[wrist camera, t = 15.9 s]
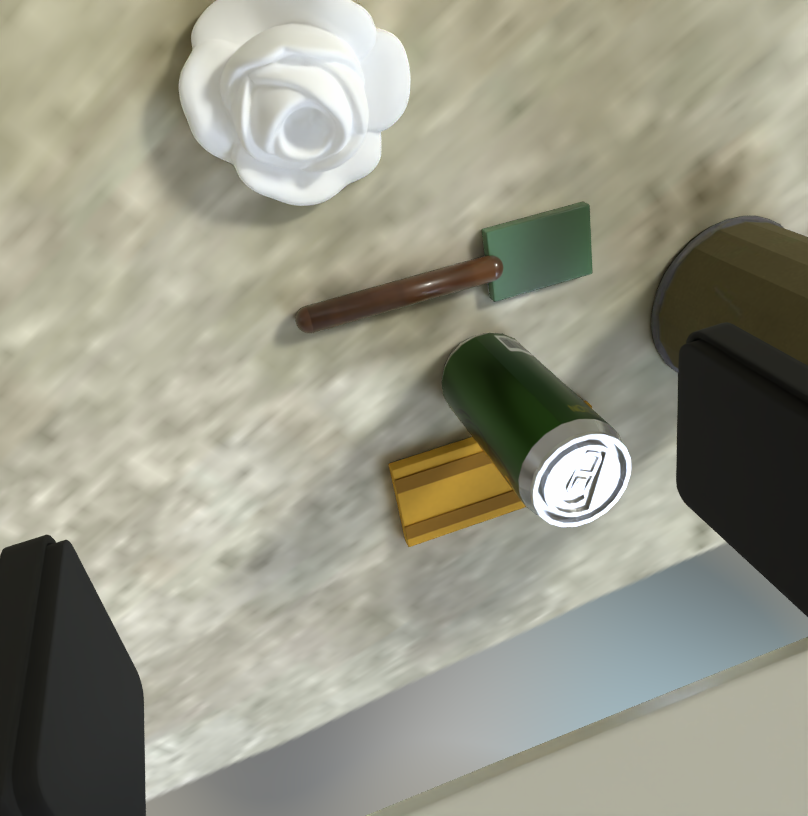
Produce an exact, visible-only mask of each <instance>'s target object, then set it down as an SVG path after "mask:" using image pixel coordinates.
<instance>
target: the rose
mask: <svg viewBox="0 0 808 816" xmlns="http://www.w3.org/2000/svg"><path fill="white" fill-rule="evenodd" d="M191 43H192V48H193V50H192V52H191V54H190V55H189V57H188V59H187V61H186V63H185V65H184V67H183V69H182V71H181V74H180V78H179V96H180V102H181V105H182V108H183V111H184V114H185V116H186V119H187V121H188V124H189V126H190V129H191V132H192V134H193V136H194V138H195V139H196V140H197V142H198V143H199V144H200V145H201V146H202V147H203V148H204V149H205V150H207V151H208V152H209V153H211V154H212V155H214V156H216V157H218V158H220V159H222V160H225V161H227V162H229V163H231V164H233V165H234V166H235V169H236V171H237V174H238V176H239V178H240V179H241V180H242V181H243V182H244V183H245V184H246V185H247V186H248V187H249V188H250V189H252V190H253V191H255V192H257V193H259V194H261V195H264V196H267V197H270V198H273V199H275V200H278V201H280V202H283V203H287V204H290V205H297V206H305V205H316V204H319V203H322V202H325V201H327V200H329V199H330V198H332V197H333V196H335V195H336V194H338V193H339V192H340V191H341V190H342V189H343V188H344V187H346V186H347V185H348V184H350V183H352V182H354V181H357V180H359V179H361V178H363V177H365V176H367V175H368V174H369V173H370V172H372V171H373V170H374V169H375V167H376V166H377V164H378V162H379V160H380V158H381V131H383V130H386V129H388V128H390V127H391V126H392V125H393V124H394V123H395V122H396V121H397V120H398V119H399V118H400V117H401V115H402V114H403V112H404V111H405V109H406V106H407V104H408V100H409V95H410V68H409V63H408V59H407V55H406V52H405V49H404V47H403V45H402V44H401V42H400V41H399V39H398V38H397V37H396V36H395V35H393V34H392V33H390V32H388V31H386V30H383V29H380V28H376V27H375V25H374V22H373V19H372V17H371V15H370V14H369V13H368V12H367V11H366V10H365V9H364V8H363V7H361V6H360V5H358V4H357V3H355V2H353V1H351V0H216V1H215V2H214V3H212V4H211V5H210V6H209V7H208V8H207V9H206V10H205V11H204V12H203V13H202V14H201V16H200V17H199V19H198V20H197V22H196V24H195V25H194V28H193V30H192V34H191Z"/></svg>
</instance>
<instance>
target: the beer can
mask: <svg viewBox="0 0 808 816" xmlns="http://www.w3.org/2000/svg"><path fill="white" fill-rule="evenodd" d="M442 389H443V396H444V398H445V400H446V401H447V403H448V405H449V407H450V408H451V409H452V411H453V412H454V413H455V415H456V416H457V417H458V419H459V420H460V421H461V422H462V424H463V425H464V426H465V428H466V429H467V430H468V432H469V433H470V434H471V435H472V437H473V438H474V439H475V441H476V442H477V443H478V445H479V446H480V447H481V449H482V450H483V451H484V452H485V454H486V455H487V456H488V458H489V459H490V460H491V462H492V463H493V464H494V465H495V467H496V468H497V469H498V471H499V472H500V473H501V475H502V476H503V477H504V479H505V480H506V481H507V482H508V484H509V485H510V486H511V488H512V489H513V490H514V492H515V493H516V494H517V495H518V497H519V498H520V499H521V501H522V502H523V503H524V505H525V506H526V507H527V508H528V509H530V510H531V511H532V512H534V513H535V514H536V515H539V516H540V517H542V518H543V519H544V520H545V521H547V522H548V523H549V524H553V525H556V526H560V527H575V526H579V525H582V524H585V523H588V522H591V521H593V520H595V519H596V518H598V517H600V516H601V515H603V514H605V513H606V512H607V511H608V510H609V509H610V508H611V507H612V506H613V505H614V504H615V503H616V502H617V501H618V500H619V498H620V497H621V495H622V494H623V492H624V490H625V489H626V487H627V484H628V481H629V478H630V475H631V458H630V456H629V453H628V450H627V448H626V447H625V446H624V445H623V444H622V441H621V439H620V436H619V434H618V433H617V432H616V431H615V430H614V429H613V428H612V427H611V426H610V425H609V424H608V423H607V422H606V421H605V420H604V419H603V418H601V417H600V416H599V415H598V414H597V413H596V412H595V411H594V410H593V409H591V408H590V407H589V406H588V405H587V404H586V403H585V402H584V401H583V400H582V399H580V398H579V397H578V396H577V395H576V394H575V393H574V392H573V391H572V390H570V389H569V388H568V387H567V386H566V385H565V384H564V383H563V382H562V381H561V380H559V379H558V378H557V377H556V376H555V375H554V374H553V373H552V372H551V371H550V370H548V369H547V368H546V367H545V366H544V365H543V364H542V363H541V362H540V361H538V360H537V359H536V358H535V357H534V356H533V355H532V354H531V353H530V352H529V351H527V350H526V349H525V348H524V347H523V346H522V345H521V344H520V343H519V342H518V341H516V340H515V339H514V338H512V337H509V336H507V335H504V334H498V333H483V334H479V335H475V336H472V337H470V338H468V339H466V340H465V341H463V342H462V343H460V344H459V345H458V346H457V347H456V348H455V349H454V350H453V351H452V352H451V354H450V355H449V357H448V359H447V361H446V363H445V366H444V371H443V376H442Z"/></svg>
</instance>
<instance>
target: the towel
mask: <svg viewBox="0 0 808 816" xmlns="http://www.w3.org/2000/svg"><path fill="white" fill-rule="evenodd" d="M584 402H585V403H586V404H587V405H588V406H589V407H590V408H591V409H592V406H591V405H590V404H589V403H588V402H587V401H586V400H585V401H584ZM389 469H390V473H391V478H392V483H393V487H394V492H395V496H396V501H397V505H398V510H399V515H400V519H401V524H402V528H403V533H404V537H405V541H406V543H407V545H408V547H411V546H414V545H417V544H420V543H422V542H425V541H428V540H431V539H434V538H437V537H440V536H443V535H446V534H449V533H452V532H454V531H457V530H460V529H463V528H466V527H469V526H472V525H475V524H478V523H481V522H484V521H486V520H489V519H492V518H495V517H498V516H501V515H504V514H507V513H510V512H513V511H516V510H518V509H521V508H524V507H526V506H525V505H524V503H523V502H522V501H521V499H520V498H519V497H518V495H517V494H516V493H515V492H514V490H513V489H512V488H511V486H510V485H509V484H508V482H507V481H506V480H505V479H504V477H503V476H502V475H501V473H500V472H499V471H498V469H497V468H496V467H495V465H494V464H493V463H492V462H491V460H490V459H489V458H488V456H487V455H486V454H485V452H484V451H483V450H482V449H481V447H480V446H479V445H478V443H477V442H476V441H475V439H474V438H473V437H470V438H467V439H464V440H461V441H458V442H455V443H451V444H448V445H445V446H442V447H439V448H436V449H433V450H430V451H427V452H423V453H420V454H417V455H414V456H411V457H408V458H405V459H402V460H399V461H396V462H392V463H389Z"/></svg>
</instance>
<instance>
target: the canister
mask: <svg viewBox="0 0 808 816" xmlns="http://www.w3.org/2000/svg"><path fill="white" fill-rule="evenodd" d="M725 322H728V323H731V324H734V325H735V326H737V327H739V328H741V329H743V330H744V331H746V332H748V333H750V334H752V335H753V336H755V337H757V338H759V339H761V340H762V341H764V342H766V343H768V344H770V345H771V346H773V347H775V348H777V349H779V350H780V351H782V352H784V353H786V354H788V355H789V356H791V357H793V358H795V359H797V360H799V361H800V362H802V363H804V364H806V365H808V237H806V236H803V235H801V234H798V233H795V232H792V231H790V230H787V229H784V228H783V227H782V226H781V225H780V224H778V223H776V222H774V221H772V220H770V219H767V218H763V217H759V216H742V217H737V218H731V219H726V220H724V221H722V222H720V223H718V224H715V225H713V226H711V227H709V228H708V229H707V230H705V231H704V232H702V233H701V234H700V235H698V236H697V237H696V238H695V239H693V240H692V241H691V242H690V243H689V244H688V245H687V246H686V247H685V248H684V249H683V251H682V252H681V253H680V254H679V255H678V256H677V257H676V258H675V260H674V261H673V262H672V264H671V265H670V267H669V268H668V270H667V271H666V273H665V275H664V277H663V279H662V281H661V283H660V286H659V288H658V290H657V293H656V297H655V301H654V305H653V309H652V333H653V340H654V343H655V346H656V349H657V350H658V352H659V354H660V355H661V357H662V358H663V360H664V362H665V363H666V364H667V365H668V366H669V367H671V368H672V369H673V370H675V371H676V372H678V364H679V350H680V348H681V347H682V346H683V345H684V344H686V340H687V338H688V336H689V335H690V334H691V333H692V332H695V331H698V330H701V329H705V328H708V327H711V326H714V325H717V324H720V323H725Z"/></svg>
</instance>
